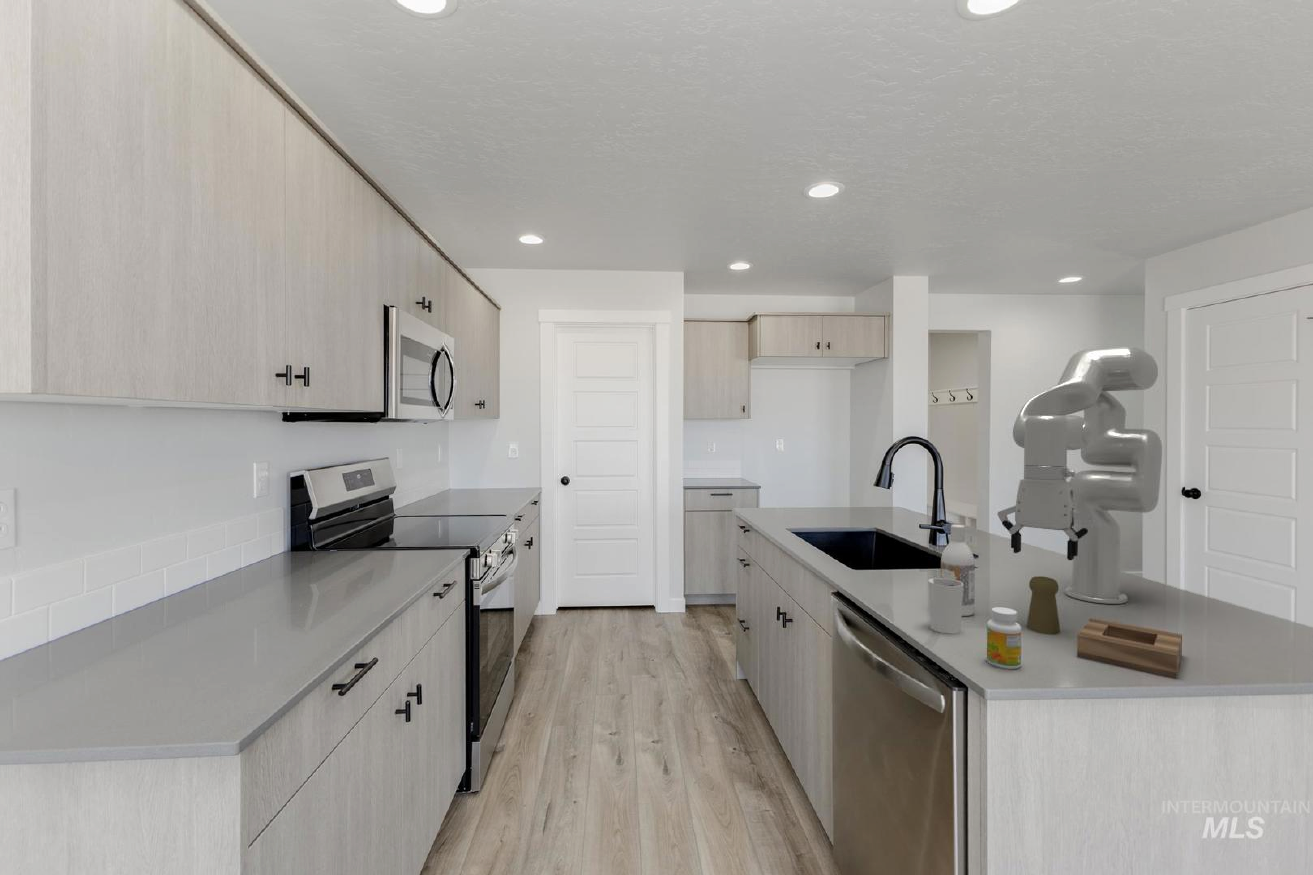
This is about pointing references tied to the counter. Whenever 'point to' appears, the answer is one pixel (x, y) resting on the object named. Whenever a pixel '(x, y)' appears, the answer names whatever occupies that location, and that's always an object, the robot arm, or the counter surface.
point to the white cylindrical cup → (945, 605)
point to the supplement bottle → (1004, 639)
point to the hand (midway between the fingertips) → (1043, 555)
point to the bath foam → (960, 566)
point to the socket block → (1131, 647)
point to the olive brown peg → (1043, 606)
